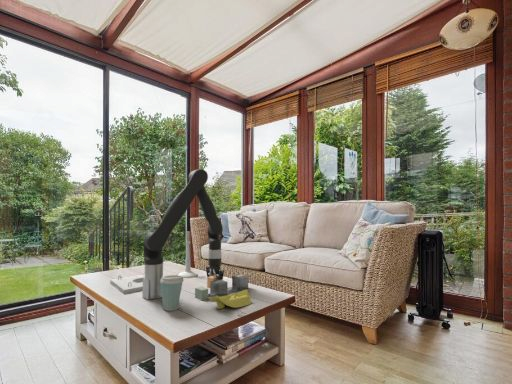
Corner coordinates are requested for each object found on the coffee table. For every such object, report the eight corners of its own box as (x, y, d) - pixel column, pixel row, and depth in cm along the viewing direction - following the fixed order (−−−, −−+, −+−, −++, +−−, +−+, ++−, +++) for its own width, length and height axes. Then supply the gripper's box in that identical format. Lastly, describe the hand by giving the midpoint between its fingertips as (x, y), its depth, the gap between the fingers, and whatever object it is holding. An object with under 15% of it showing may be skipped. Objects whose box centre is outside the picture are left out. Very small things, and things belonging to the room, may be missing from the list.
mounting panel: (176, 276, 178) (124, 285, 159) (176, 284, 178) (123, 295, 159) (158, 268, 199) (110, 275, 179) (158, 276, 198) (110, 284, 179)
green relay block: (201, 300, 149) (201, 290, 149) (194, 297, 153) (195, 288, 153) (208, 298, 152) (208, 288, 152) (201, 296, 156) (201, 286, 156)
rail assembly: (214, 299, 151) (214, 284, 151) (205, 296, 155) (205, 282, 156) (249, 288, 170) (249, 275, 170) (240, 285, 175) (240, 273, 175)
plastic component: (235, 293, 153) (248, 288, 147) (239, 308, 150) (252, 303, 144) (205, 300, 138) (218, 294, 133) (208, 316, 135) (222, 311, 130)
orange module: (212, 289, 168) (212, 277, 168) (207, 287, 171) (207, 276, 171) (222, 286, 173) (222, 275, 173) (216, 284, 176) (216, 274, 177)
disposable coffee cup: (158, 306, 140) (158, 274, 141) (181, 303, 144) (181, 272, 145) (160, 314, 130) (161, 279, 131) (185, 310, 135) (185, 277, 135)
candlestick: (186, 278, 190) (186, 232, 191) (173, 275, 197) (174, 230, 198) (201, 275, 200) (201, 230, 201) (188, 272, 208) (189, 229, 209)
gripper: (202, 256, 175) (201, 285, 174) (218, 259, 165) (217, 290, 165) (212, 254, 180) (211, 282, 180) (228, 257, 171) (227, 287, 170)
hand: (214, 286), depth 172 cm, fingers closed on orange module, 5 cm apart
